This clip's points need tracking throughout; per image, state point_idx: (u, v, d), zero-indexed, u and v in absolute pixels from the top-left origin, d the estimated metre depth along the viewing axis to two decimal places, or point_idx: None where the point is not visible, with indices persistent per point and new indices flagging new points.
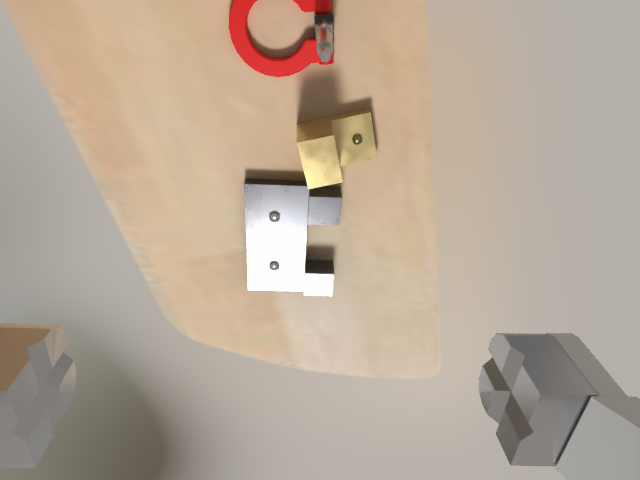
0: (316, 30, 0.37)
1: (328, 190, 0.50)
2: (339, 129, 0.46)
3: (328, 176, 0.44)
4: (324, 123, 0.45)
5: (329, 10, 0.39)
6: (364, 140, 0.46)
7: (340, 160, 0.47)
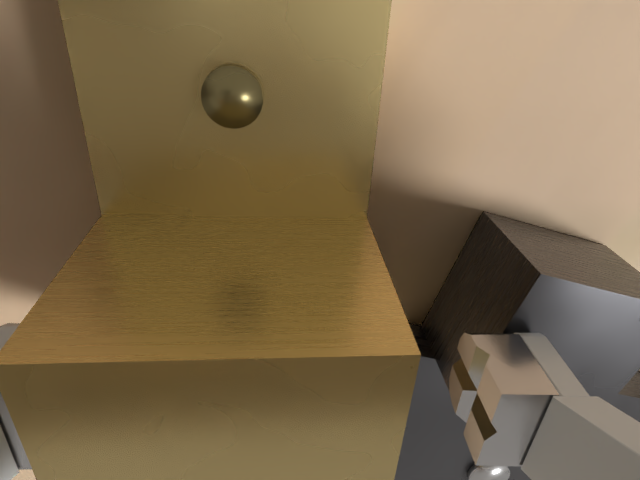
0: None
1: (473, 286, 0.10)
2: (156, 183, 0.08)
3: (338, 426, 0.06)
4: None
5: None
6: (250, 52, 0.07)
7: (338, 209, 0.09)
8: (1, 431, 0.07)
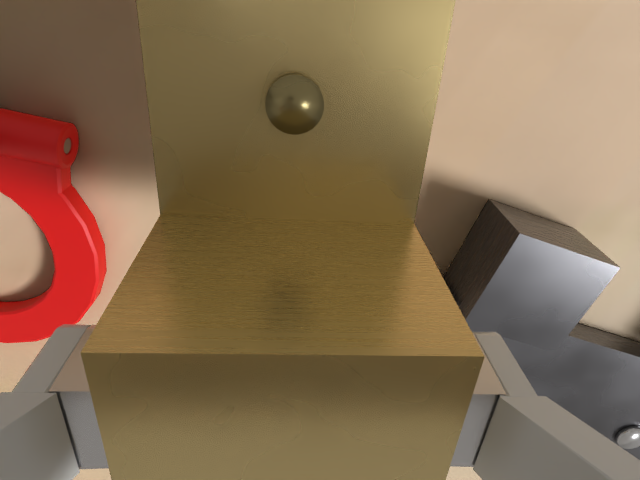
0: None
1: (479, 247, 0.15)
2: (215, 185, 0.09)
3: (397, 424, 0.06)
4: None
5: None
6: (313, 62, 0.08)
7: (387, 215, 0.09)
8: (66, 431, 0.07)
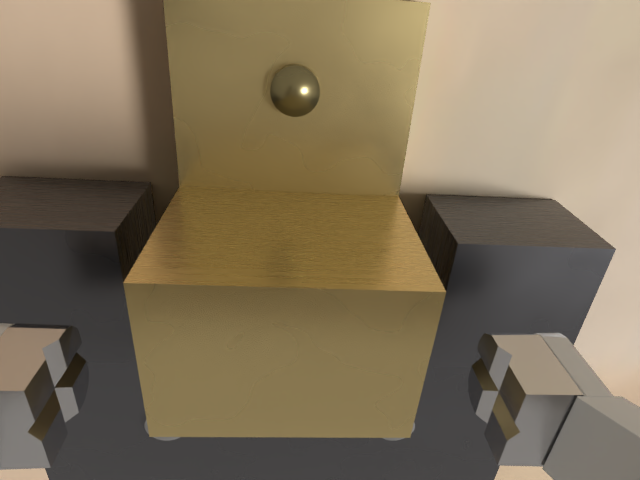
0: None
1: None
2: (226, 161, 0.10)
3: (377, 351, 0.08)
4: None
5: None
6: (310, 55, 0.09)
7: (375, 188, 0.10)
8: None
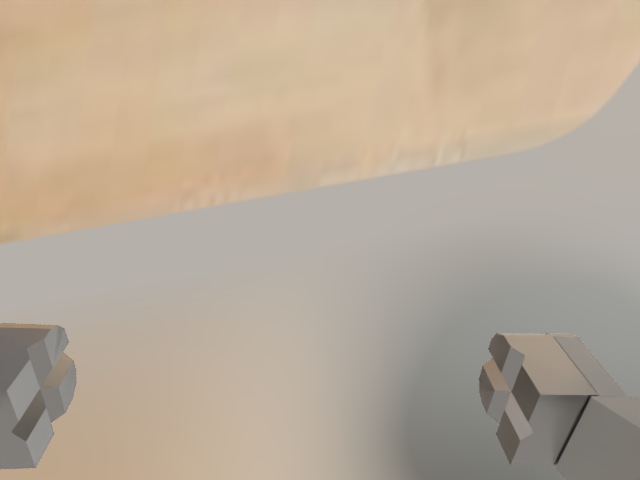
0: None
1: None
2: None
3: None
4: None
5: None
6: None
7: None
8: None
